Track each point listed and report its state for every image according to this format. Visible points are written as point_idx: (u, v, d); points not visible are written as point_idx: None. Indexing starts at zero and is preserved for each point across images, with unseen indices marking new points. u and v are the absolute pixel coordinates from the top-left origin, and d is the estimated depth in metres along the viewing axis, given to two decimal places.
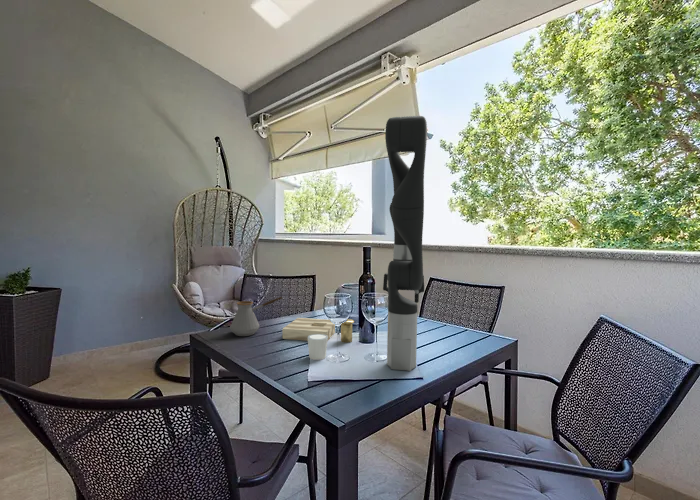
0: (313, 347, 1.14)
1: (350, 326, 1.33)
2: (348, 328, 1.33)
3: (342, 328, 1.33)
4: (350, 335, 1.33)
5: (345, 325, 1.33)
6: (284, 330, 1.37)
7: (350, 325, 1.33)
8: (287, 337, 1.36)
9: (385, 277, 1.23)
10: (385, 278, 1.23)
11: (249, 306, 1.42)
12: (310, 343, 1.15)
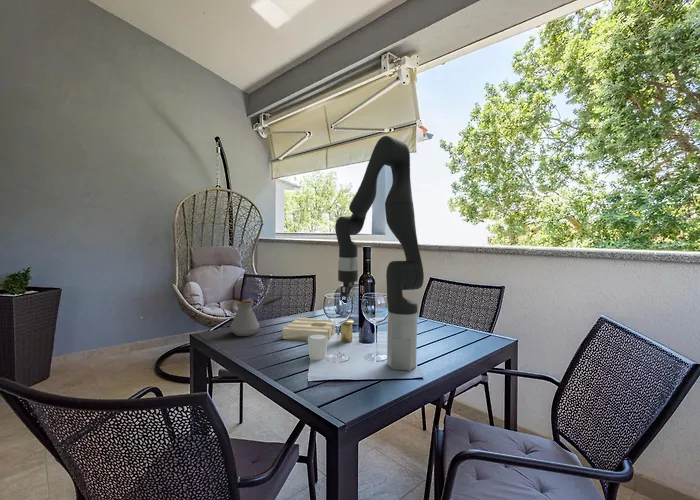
0: (313, 347, 1.14)
1: (350, 326, 1.33)
2: (348, 328, 1.33)
3: (342, 328, 1.33)
4: (350, 335, 1.33)
5: (345, 325, 1.33)
6: (284, 330, 1.37)
7: (350, 325, 1.33)
8: (287, 337, 1.36)
9: (347, 290, 1.28)
10: (347, 291, 1.28)
11: (249, 306, 1.42)
12: (310, 343, 1.15)
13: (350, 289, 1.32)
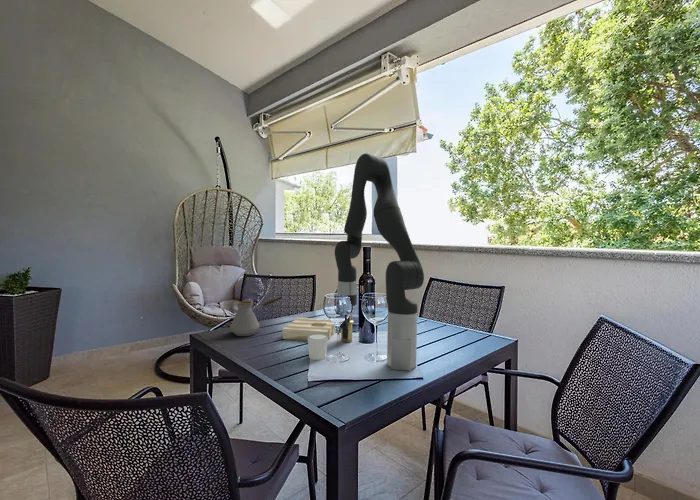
0: (313, 347, 1.14)
1: (350, 326, 1.33)
2: (348, 328, 1.33)
3: None
4: (350, 335, 1.33)
5: None
6: (284, 330, 1.37)
7: (350, 325, 1.33)
8: (287, 337, 1.36)
9: (346, 317, 1.28)
10: (346, 318, 1.29)
11: (249, 306, 1.42)
12: (310, 343, 1.15)
13: None
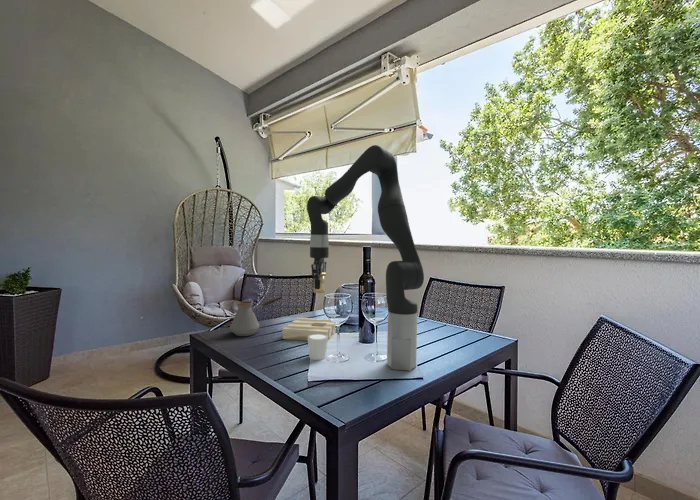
0: (313, 347, 1.14)
1: (322, 277, 1.41)
2: (320, 279, 1.40)
3: None
4: (322, 286, 1.41)
5: None
6: (284, 330, 1.37)
7: (322, 276, 1.41)
8: (287, 337, 1.36)
9: (317, 267, 1.36)
10: (317, 268, 1.36)
11: (249, 306, 1.42)
12: (310, 343, 1.15)
13: (321, 265, 1.40)
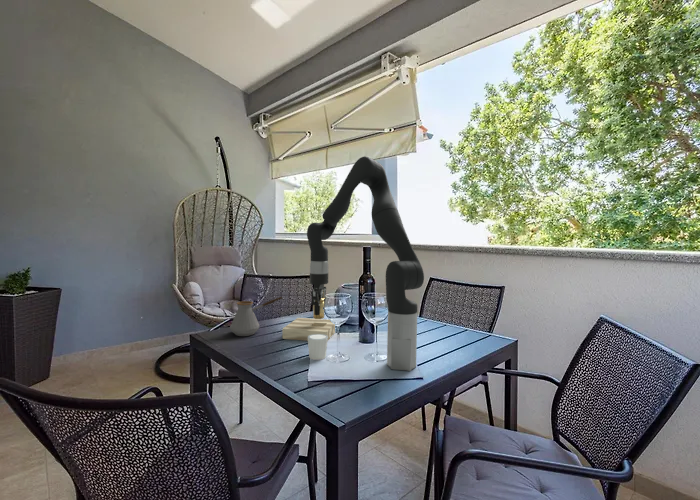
0: (313, 347, 1.14)
1: (322, 303, 1.41)
2: (320, 305, 1.41)
3: None
4: (322, 312, 1.41)
5: None
6: (284, 330, 1.37)
7: (322, 302, 1.41)
8: (287, 337, 1.36)
9: (317, 294, 1.37)
10: (317, 295, 1.37)
11: (249, 306, 1.42)
12: (310, 343, 1.15)
13: (321, 292, 1.40)
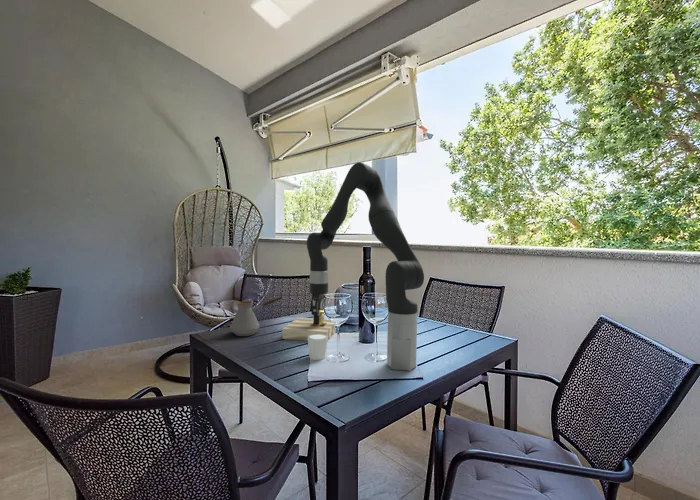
0: (313, 347, 1.14)
1: (321, 315, 1.41)
2: (319, 317, 1.41)
3: None
4: (321, 324, 1.41)
5: None
6: (284, 330, 1.37)
7: (321, 314, 1.41)
8: (287, 337, 1.36)
9: (317, 303, 1.36)
10: (317, 304, 1.37)
11: (249, 306, 1.42)
12: (310, 343, 1.15)
13: (321, 301, 1.40)
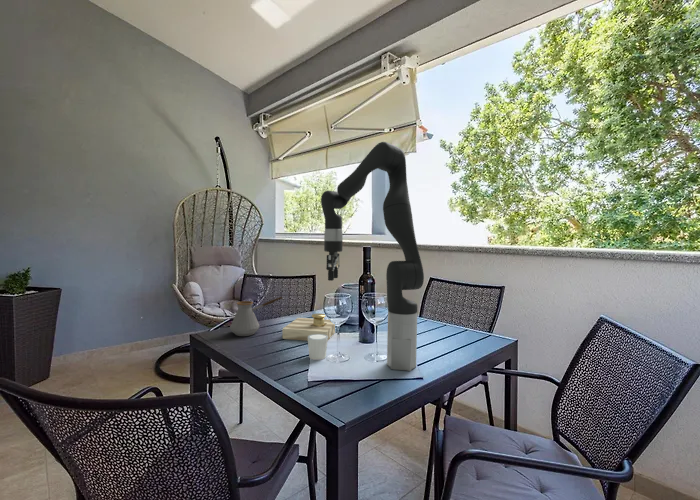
0: (313, 347, 1.14)
1: (322, 320, 1.42)
2: (320, 322, 1.41)
3: (314, 322, 1.42)
4: None
5: (317, 319, 1.41)
6: (284, 330, 1.37)
7: (322, 319, 1.42)
8: (287, 337, 1.36)
9: (332, 258, 1.38)
10: (332, 259, 1.38)
11: (249, 306, 1.42)
12: (310, 343, 1.15)
13: (335, 258, 1.42)
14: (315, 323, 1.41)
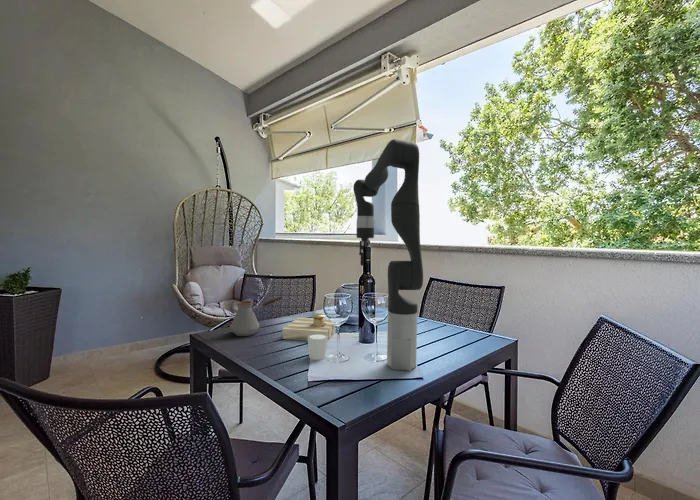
0: (313, 347, 1.14)
1: (321, 320, 1.42)
2: (320, 322, 1.41)
3: (314, 322, 1.42)
4: None
5: (317, 319, 1.41)
6: (284, 330, 1.37)
7: (321, 319, 1.42)
8: (287, 337, 1.36)
9: (365, 243, 1.44)
10: (365, 244, 1.44)
11: (249, 306, 1.42)
12: (310, 343, 1.15)
13: (367, 244, 1.48)
14: (315, 323, 1.41)
